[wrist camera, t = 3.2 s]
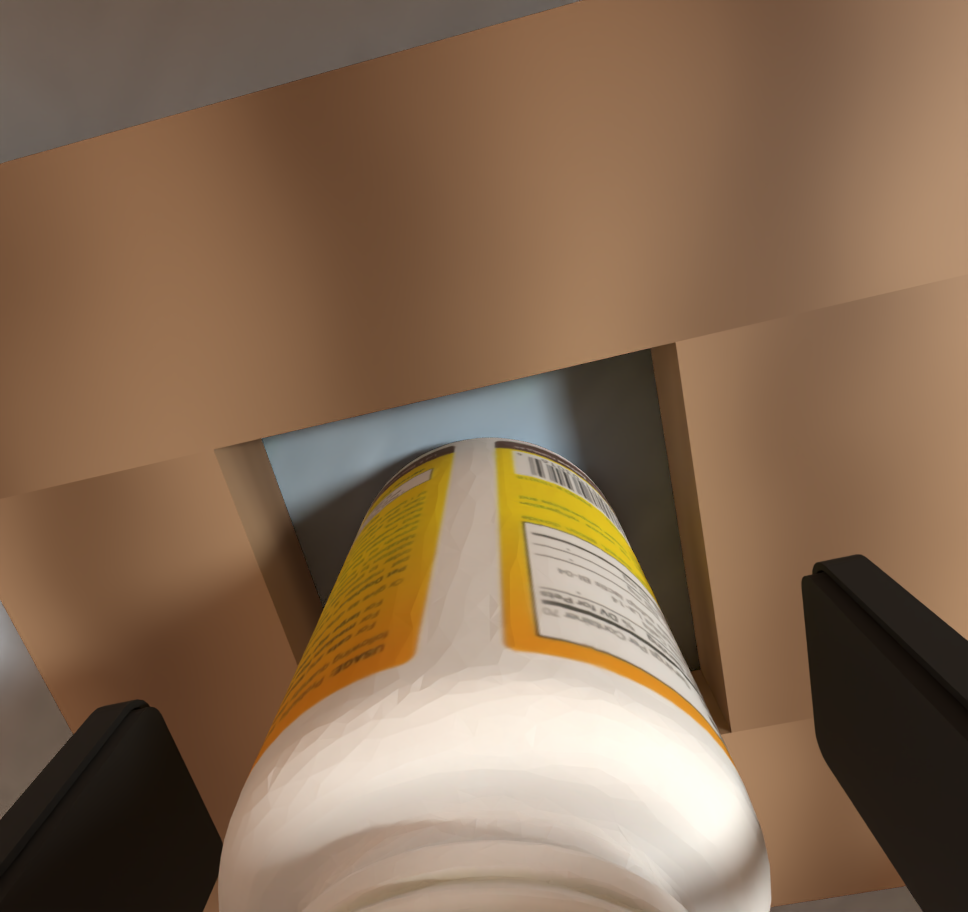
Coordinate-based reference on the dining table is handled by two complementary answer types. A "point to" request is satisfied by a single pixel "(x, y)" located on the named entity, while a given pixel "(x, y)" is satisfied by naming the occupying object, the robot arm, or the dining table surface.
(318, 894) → the supplement bottle
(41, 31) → the dining table surface
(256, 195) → the wooden square frame
